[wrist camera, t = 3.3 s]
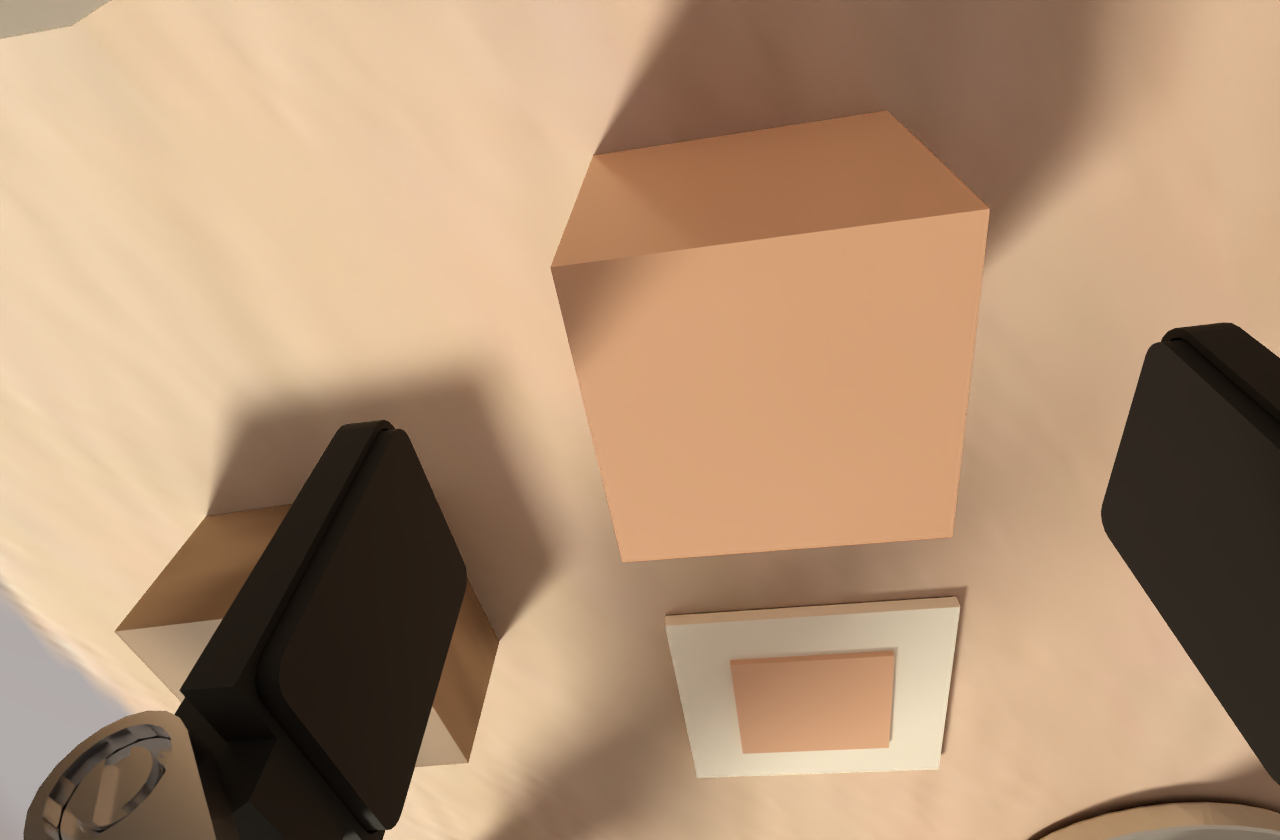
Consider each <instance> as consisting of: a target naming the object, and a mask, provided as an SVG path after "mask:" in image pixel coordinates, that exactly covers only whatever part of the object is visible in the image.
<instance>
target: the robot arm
mask: <svg viewBox="0 0 1280 840" xmlns="http://www.w3.org/2000/svg"><path fill="white" fill-rule="evenodd" d="M1101 518H1102V523H1103V527H1104V530H1105V532H1106V534H1107V536H1108V537H1109V539H1110V540H1111V542H1112V543H1113V545H1114V546H1115V548H1116V549H1117V551H1118V552H1119V554H1120V555H1121V557H1122V558H1123V560H1124V561H1125V563H1126V564H1127V566H1128V567H1129V568H1130V570H1131V571H1132V573H1133V574H1134V576H1135V577H1136V579H1137V580H1138V582H1139V583H1140V585H1141V586H1142V588H1143V589H1144V591H1145V592H1146V594H1147V595H1148V597H1149V598H1150V599H1151V601H1152V602H1153V604H1154V605H1155V607H1156V608H1157V610H1158V611H1159V613H1160V614H1161V616H1162V617H1163V619H1164V620H1165V622H1166V623H1167V625H1168V626H1169V628H1170V629H1171V631H1172V632H1173V633H1174V635H1175V636H1176V638H1177V639H1178V641H1179V642H1180V644H1181V645H1182V647H1183V648H1184V650H1185V651H1186V653H1187V654H1188V656H1189V657H1190V659H1191V660H1192V662H1193V663H1194V665H1195V666H1196V667H1197V669H1198V670H1199V672H1200V673H1201V675H1202V676H1203V678H1204V679H1205V681H1206V682H1207V684H1208V685H1209V687H1210V688H1211V690H1212V691H1213V693H1214V694H1215V696H1216V697H1217V698H1218V700H1219V701H1220V703H1221V704H1222V706H1223V707H1224V709H1225V710H1226V712H1227V713H1228V715H1229V716H1230V718H1231V719H1232V721H1233V722H1234V724H1235V725H1236V727H1237V728H1238V730H1239V731H1240V732H1241V734H1242V735H1243V737H1244V738H1245V740H1246V741H1247V743H1248V744H1249V746H1250V747H1251V749H1252V750H1253V752H1254V753H1255V755H1256V756H1257V758H1258V759H1259V761H1260V762H1261V763H1262V765H1263V766H1264V768H1265V769H1266V771H1267V772H1268V773H1269V775H1270V776H1271V777H1272V778H1273V780H1275V781H1276V782H1277V783H1278V784H1279V785H1280V358H1279V357H1278V356H1276V355H1275V354H1274V353H1272V352H1271V351H1270V350H1269V349H1267V348H1266V347H1265V346H1263V345H1262V344H1261V343H1259V342H1258V341H1257V340H1256V339H1254V338H1253V337H1252V336H1250V335H1249V334H1248V333H1246V332H1245V331H1244V330H1243V329H1241V328H1240V327H1238V326H1236V325H1234V324H1232V323H1216V324H1208V325H1199V326H1191V327H1182V328H1174V329H1172V330H1170V331H1168V332H1167V333H1166V334H1165V335H1164V337H1163V338H1162V340H1161V342H1158V343H1155V344H1153V345H1152V346H1151V347H1150V348H1149V349H1148V351H1147V354H1146V356H1145V360H1144V363H1143V367H1142V370H1141V373H1140V377H1139V380H1138V384H1137V387H1136V391H1135V394H1134V397H1133V401H1132V404H1131V408H1130V411H1129V415H1128V418H1127V422H1126V425H1125V428H1124V432H1123V435H1122V439H1121V442H1120V446H1119V449H1118V452H1117V456H1116V459H1115V463H1114V466H1113V470H1112V473H1111V476H1110V480H1109V483H1108V487H1107V490H1106V494H1105V497H1104V501H1103V504H1102V509H1101ZM466 585H467V573H466V567H465V564H464V562H463V559H462V557H461V555H460V552H459V550H458V548H457V546H456V543H455V541H454V539H453V537H452V534H451V532H450V530H449V527H448V525H447V523H446V521H445V518H444V516H443V514H442V512H441V509H440V507H439V505H438V502H437V500H436V498H435V496H434V493H433V491H432V489H431V487H430V484H429V482H428V480H427V477H426V475H425V473H424V471H423V468H422V466H421V464H420V462H419V459H418V457H417V455H416V452H415V450H414V448H413V446H412V443H411V441H410V439H409V437H408V435H407V433H406V432H405V431H404V430H402V429H395V428H394V427H393V425H392V424H391V423H390V422H388V421H385V420H380V421H371V422H363V423H354V424H346V425H343V426H341V427H340V428H339V430H338V431H337V432H336V434H335V436H334V437H333V439H332V440H331V442H330V444H329V445H328V447H327V449H326V450H325V452H324V454H323V455H322V457H321V458H320V460H319V462H318V463H317V465H316V467H315V468H314V470H313V472H312V473H311V475H310V477H309V478H308V480H307V481H306V483H305V485H304V486H303V488H302V490H301V491H300V493H299V495H298V496H297V498H296V500H295V501H294V503H293V504H292V506H291V508H290V509H289V511H288V513H287V514H286V516H285V518H284V519H283V521H282V522H281V524H280V526H279V527H278V529H277V531H276V532H275V534H274V536H273V537H272V539H271V541H270V542H269V544H268V545H267V547H266V549H265V550H264V552H263V554H262V555H261V557H260V559H259V560H258V562H257V564H256V565H255V567H254V568H253V570H252V572H251V573H250V575H249V577H248V578H247V580H246V582H245V583H244V585H243V586H242V588H241V590H240V591H239V593H238V595H237V596H236V598H235V600H234V601H233V603H232V605H231V606H230V608H229V609H228V611H227V613H226V614H225V616H224V618H223V619H222V621H221V623H220V624H219V626H218V628H217V629H216V631H215V632H214V634H213V636H212V637H211V639H210V641H209V642H208V644H207V646H206V647H205V649H204V650H203V652H202V654H201V655H200V657H199V659H198V660H197V662H196V664H195V665H194V667H193V669H192V670H191V672H190V673H189V675H188V677H187V678H186V680H185V682H184V683H183V685H182V687H181V688H180V690H179V691H180V692H181V693H182V694H183V695H184V696H185V698H184V700H183V701H182V703H181V705H180V706H179V708H178V710H177V711H176V713H175V715H173V714H171V713H169V712H167V711H145V712H141V713H137V714H133V715H130V716H126V717H124V718H122V719H120V720H118V721H115V722H114V723H112V724H109V725H107V726H105V727H103V728H101V729H100V730H99V731H97V732H96V733H94V734H93V735H92V736H90V737H89V738H87V739H86V740H84V741H83V742H81V743H80V744H79V745H77V746H76V747H75V748H74V749H73V750H72V751H71V752H70V753H69V754H68V755H67V756H66V757H65V758H64V759H63V760H62V761H61V762H59V763H58V765H56V766H55V768H54V769H53V770H52V772H51V773H50V774H49V776H48V777H47V778H46V779H45V781H44V782H43V783H42V785H41V786H40V787H39V789H38V791H37V793H36V795H35V797H34V799H33V801H32V803H31V805H30V807H29V809H28V811H27V816H26V821H25V827H24V840H382V839H383V836H384V833H385V830H389V829H392V828H393V827H394V826H395V825H396V824H397V822H398V820H399V818H400V815H401V813H402V809H403V806H404V802H405V799H406V796H407V792H408V789H409V785H410V782H411V778H412V775H413V771H414V768H415V764H416V761H417V757H418V754H419V750H420V747H421V744H422V740H423V737H424V733H425V730H426V726H427V723H428V719H429V716H430V712H431V709H432V705H433V702H434V699H435V695H436V692H437V688H438V685H439V681H440V678H441V674H442V671H443V667H444V664H445V660H446V657H447V653H448V650H449V647H450V643H451V640H452V636H453V633H454V629H455V626H456V622H457V619H458V615H459V612H460V608H461V605H462V601H463V598H464V595H465V591H466ZM1039 840H1280V814H1279V813H1276V812H1273V811H1270V810H1267V809H1263V808H1257V807H1252V806H1246V805H1241V804H1231V803H1216V802H1186V803H1168V804H1159V805H1150V806H1142V807H1136V808H1131V809H1126V810H1121V811H1116V812H1111V813H1106V814H1103V815H1100V816H1096V817H1093V818H1090V819H1086V820H1083V821H1079V822H1076V823H1074V824H1071V825H1069V826H1067V827H1064V828H1062V829H1059V830H1057V831H1054V832H1052V833H1050V834H1048V835H1046V836H1045V837H1043V838H1041V839H1039Z"/></svg>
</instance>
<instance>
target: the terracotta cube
mask: <svg viewBox="0 0 1280 840" xmlns="http://www.w3.org/2000/svg"><path fill="white" fill-rule="evenodd" d="M989 214H990V208H989V207H988V206H987V205H986V204H985V203H984V202H982V201H981V200H980V199H979V198H978V197H977V196H976V195H975V194H974V193H973V192H972V191H971V190H970V189H969V188H968V187H967V186H966V185H965V184H964V183H963V182H962V181H961V180H960V179H958V178H957V177H956V176H955V175H954V174H953V173H952V172H951V171H950V170H949V169H948V168H947V167H946V166H945V165H944V164H943V163H942V162H941V161H940V160H939V159H938V158H937V157H936V156H934V155H933V154H932V153H931V152H930V151H929V150H928V149H927V148H926V147H925V146H924V145H923V144H922V143H921V142H920V141H919V140H918V139H917V138H916V137H915V136H914V135H913V134H912V133H911V132H909V131H908V130H907V129H906V128H905V127H904V126H903V125H902V124H901V123H900V122H899V121H898V120H897V119H896V118H895V117H894V116H893V115H892V114H891V113H890V112H889V111H888V110H886V111H880V112H873V113H867V114H860V115H854V116H847V117H841V118H834V119H828V120H821V121H815V122H808V123H801V124H795V125H788V126H782V127H775V128H769V129H762V130H756V131H749V132H743V133H736V134H730V135H723V136H716V137H710V138H703V139H697V140H690V141H684V142H677V143H671V144H664V145H658V146H651V147H645V148H638V149H631V150H625V151H618V152H612V153H605V154H599V155H593V157H592V160H591V163H590V165H589V168H588V171H587V173H586V176H585V178H584V181H583V184H582V186H581V189H580V191H579V194H578V197H577V199H576V202H575V205H574V207H573V210H572V212H571V215H570V218H569V220H568V223H567V225H566V228H565V231H564V233H563V236H562V239H561V241H560V244H559V246H558V249H557V252H556V254H555V257H554V259H553V262H552V265H551V271H552V275H553V280H554V284H555V288H556V292H557V296H558V300H559V304H560V308H561V312H562V317H563V321H564V325H565V329H566V333H567V337H568V341H569V345H570V349H571V353H572V358H573V362H574V366H575V370H576V374H577V378H578V382H579V386H580V390H581V395H582V399H583V403H584V407H585V411H586V415H587V419H588V423H589V427H590V431H591V436H592V440H593V444H594V448H595V452H596V456H597V460H598V464H599V468H600V473H601V477H602V481H603V485H604V489H605V493H606V497H607V501H608V505H609V509H610V514H611V518H612V522H613V526H614V530H615V534H616V538H617V542H618V546H619V551H620V555H621V559H622V562H634V561H648V560H661V559H674V558H687V557H700V556H713V555H726V554H739V553H752V552H765V551H778V550H791V549H804V548H817V547H830V546H843V545H856V544H869V543H882V542H895V541H908V540H922V539H935V538H948V537H953V528H954V520H955V511H956V502H957V493H958V485H959V476H960V467H961V459H962V450H963V441H964V432H965V424H966V415H967V406H968V397H969V389H970V380H971V371H972V362H973V354H974V345H975V336H976V327H977V319H978V310H979V301H980V293H981V284H982V275H983V266H984V258H985V249H986V240H987V231H988V223H989Z"/></svg>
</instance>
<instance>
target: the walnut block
mask: <svg viewBox="0 0 1280 840" xmlns="http://www.w3.org/2000/svg"><path fill="white" fill-rule="evenodd" d="M291 506H292V504H288V505H281V506H274V507H268V508H261V509H254V510H247V511H240V512H233V513H226V514H219V515H212V516H206V517H205V519H204V520H203V521H202V522H201V524H200V525H199V526H198V527H197V529H196V530H195V531H194V532H193V534H192V535H191V536H190V537H189V539H188V540H187V541H186V542H185V544H184V545H183V546H182V547H181V549H180V550H179V551H178V552H177V554H176V555H175V556H174V557H173V559H172V560H171V561H170V562H169V564H168V565H167V566H166V568H165V569H164V570H163V571H162V573H161V574H160V575H159V576H158V578H157V579H156V580H155V581H154V583H153V584H152V585H151V586H150V588H149V589H148V590H147V591H146V593H145V594H144V595H143V596H142V598H141V599H140V600H139V601H138V603H137V604H136V605H135V606H134V608H133V609H132V610H131V611H130V613H129V614H128V615H127V616H126V618H125V619H124V620H123V621H122V623H121V624H120V625H119V627H118V628H117V629H116V630H115V633H116V634H117V635H118V636H119V637H120V638H121V639H122V640H123V641H124V642H125V643H126V644H127V645H128V647H129V648H130V649H131V650H132V651H133V652H134V653H135V654H136V655H137V656H138V657H139V658H140V659H141V660H142V661H143V662H144V663H145V664H146V665H147V667H148V668H149V669H150V670H151V671H152V672H153V673H154V674H155V675H156V676H157V677H158V678H159V679H160V680H161V681H162V682H163V683H164V684H165V685H166V687H167V688H168V689H169V690H170V691H171V692H172V693H173V694H174V695H175V696H176V697H177V698H178V699H179V700H180V701H181V702H182V701H183V700H184V698H185V696H184V695H183V694H182V693H181V692H180V691H179V690H180V688H181V687H182V685H183V683H184V682H185V680H186V678H187V677H188V675H189V673H190V672H191V670H192V669H193V667H194V665H195V664H196V662H197V660H198V659H199V657H200V655H201V654H202V652H203V650H204V649H205V647H206V646H207V644H208V642H209V641H210V639H211V637H212V636H213V634H214V632H215V631H216V629H217V628H218V626H219V624H220V623H221V621H222V619H223V618H224V616H225V614H226V613H227V611H228V609H229V608H230V606H231V605H232V603H233V601H234V600H235V598H236V596H237V595H238V593H239V591H240V590H241V588H242V586H243V585H244V583H245V582H246V580H247V578H248V577H249V575H250V573H251V572H252V570H253V568H254V567H255V565H256V564H257V562H258V560H259V559H260V557H261V555H262V554H263V552H264V550H265V549H266V547H267V545H268V544H269V542H270V541H271V539H272V537H273V536H274V534H275V532H276V531H277V529H278V527H279V526H280V524H281V522H282V521H283V519H284V518H285V516H286V514H287V513H288V511H289V509H290V508H291ZM498 644H499V640H498V638H497V636H496V634H495V632H494V630H493V628H492V626H491V624H490V622H489V620H488V618H487V616H486V614H485V612H484V610H483V608H482V606H481V604H480V602H479V600H478V598H477V596H476V594H475V593H474V591H473V589H472V587H471V585H470V583H469V581H468V579H467V585H466V591H465V595H464V598H463V601H462V605H461V608H460V612H459V615H458V619H457V622H456V626H455V629H454V633H453V636H452V640H451V643H450V647H449V650H448V653H447V657H446V660H445V664H444V667H443V671H442V674H441V678H440V681H439V685H438V688H437V692H436V695H435V699H434V702H433V705H432V709H431V712H430V716H429V719H428V723H427V726H426V730H425V733H424V737H423V740H422V744H421V747H420V750H419V754H418V757H417V761H416V764H415V767H422V766H435V765H448V764H461V763H468V762H469V758H470V754H471V750H472V746H473V742H474V738H475V734H476V730H477V727H478V723H479V719H480V715H481V711H482V707H483V703H484V699H485V695H486V691H487V687H488V683H489V679H490V675H491V672H492V668H493V664H494V660H495V656H496V652H497V648H498Z"/></svg>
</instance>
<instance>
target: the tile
mask: <svg viewBox="0 0 1280 840" xmlns="http://www.w3.org/2000/svg"><path fill="white" fill-rule="evenodd" d="M959 613H960V605H959V602H958V600H957V597H944V598H928V599H913V600H898V601H883V602H868V603H853V604H838V605H823V606H808V607H793V608H778V609H763V610H748V611H732V612H717V613H702V614H687V615H672V616H665V629H666V634H667V638H668V643H669V648H670V652H671V657H672V662H673V667H674V671H675V676H676V681H677V686H678V690H679V695H680V700H681V704H682V709H683V714H684V719H685V723H686V728H687V733H688V738H689V742H690V747H691V752H692V756H693V761H694V766H695V771H696V775H697V778H716V777H744V776H771V775H799V774H826V773H853V772H881V771H908V770H936V769H939V763H940V756H941V748H942V741H943V733H944V726H945V718H946V711H947V703H948V696H949V688H950V681H951V673H952V666H953V658H954V651H955V643H956V636H957V628H958V621H959Z"/></svg>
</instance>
